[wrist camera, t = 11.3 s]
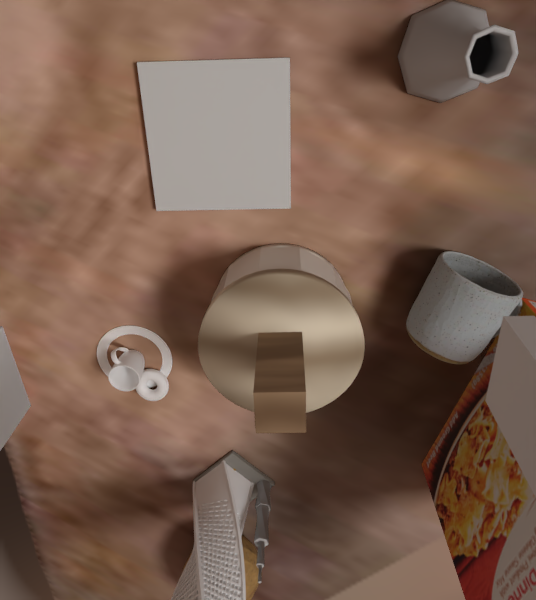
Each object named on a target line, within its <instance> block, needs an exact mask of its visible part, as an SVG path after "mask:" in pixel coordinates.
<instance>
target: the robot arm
mask: <svg viewBox="0 0 536 600" xmlns="http://www.w3.org/2000/svg"><path fill="white" fill-rule="evenodd" d="M485 401H486V403H487V405H488V407H489V409H490V410H491V412H492V414H493V416H494V418H495V420H496V422H497V424H498V426H499V428H500V430H501V432H502V434H503V435H504V437H505V439H506V441H507V443H508V445H509V447H510V449H511V451H512V453H513V455H514V457H515V459H516V461H517V462H518V464H519V466H520V468H521V470H522V472H523V474H524V476H525V478H526V480H527V482H528V484H529V486H530V488H531V489H532V491H533V493H534V495H535V497H536V317H535V316H503V320H502V325H501V329H500V334H499V339H498V343H497V348H496V353H495V358H494V362H493V367H492V372H491V376H490V381H489V386H488V391H487V395H486V400H485ZM30 406H31V405H30V402H29V399H28V396H27V393H26V391H25V388H24V385H23V382H22V379H21V377H20V374H19V371H18V368H17V365H16V363H15V360H14V357H13V354H12V351H11V349H10V346H9V343H8V340H7V337H6V335H5V332H4V329H3V326H0V451H1V449H2V448H3V446H4V445H5V443H6V442H7V440H8V439H9V437H10V436H11V434H12V433H13V431H14V430H15V428H16V427H17V425H18V424H19V422H20V421H21V420H22V418H23V417H24V415H25V414H26V412H27V411H28V409H29V408H30Z"/></svg>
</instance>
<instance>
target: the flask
mask: <svg viewBox="0 0 536 600" xmlns="http://www.w3.org/2000/svg"><path fill="white" fill-rule="evenodd" d="M517 55H518V47H517V41H516V35H515V31H513V30H509V29H506V28H503V27H500V26H497V25H492V26H490V27H489V24H488V19H487V14H486V10H484V9H481V8H478V7H475V6H471V5H468V4H465V3H462V2H459V1H455V0H445V1H443V2H441V3H439V4H436V5H434V6H432V7H430V8H427V9H425V10H423V11H421V12H418V13H416V14H414V15H412V16H411V19H410V22H409V25H408V28H407V31H406V33H405V36H404V39H403V42H402V45H401V48H400V51H399V54H398V60H399V63H400V67H401V71H402V75H403V79H404V82H405V86H406V90H407V93H408V94H412V95H415V96H419V97H422V98H425V99H429V100H432V101H436V102H439V103H442V102H444V101H447V100H449V99H452V98H454V97H457V96H459V95H462V94H464V93H467V92H469V91H472V90H474V89H476V88H477V87H478V85H479V83H480V82H481V83H485V84H489V83H492V82H494V81H496V80H499V79H501V78H504V77H506V76H509V74H510V71H511V69H512V67H513V65H514V62H515V60H516V58H517Z"/></svg>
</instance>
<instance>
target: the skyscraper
mask: <svg viewBox="0 0 536 600" xmlns="http://www.w3.org/2000/svg"><path fill="white" fill-rule="evenodd" d="M274 485H275V482H274V481H273V480H272V479H270V478H269V477H268V476H266V475H265V474H264V473H262V472H261V471H260V470H258V469H257V468H256V467H254V466H253V465H252V464H250V463H249V462H248V461H246V460H245V459H244V458H242V457H241V456H240V455H238V454H237V453H236V452H234V451H233V450H232V451H231V452H230V453H228V454H227V455H226V456H224V457H223V458H222V459H220V460H219V461H218V462H216V463H215V464H214V465H213V466H211V467H210V468H209V469H207V470H206V471H205V472H203V473H202V474H201V475H199V476H198V477H197V478H195V479H194V480H193V517H194V539H195V541H194V546H193V551H192V554H191V556H190V558H189V560H188V562H187V564H186V566H185V568H184V570H183V572H182V575H181V577H180V579H179V581H178V583H177V586H176V588H175V591H174V593H173V596H172V598H171V600H246V584H245V566H244V555H243V547H242V539H241V536H242V532H243V528H244V524H245V520H246V516H247V512H248V508H249V504H250V502H251V501H252V500H253V499H255V498H256V497H257V499H256V505H255V509H256V511H257V524H256V531H255V539H254V542H255V545H256V546H257V547H258V554H257V563H256V565H257V568H259V573H258V583H261V573H262V568H263V567H264V548H265V546H267V545H268V517H269V511H271V504H270V490H271V487H272V486H274Z"/></svg>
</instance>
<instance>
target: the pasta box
mask: <svg viewBox="0 0 536 600" xmlns="http://www.w3.org/2000/svg"><path fill="white" fill-rule="evenodd" d="M518 316H535V317H536V301H533V300H529V299H526V298H522V308H521V310H520V312H519V314H518ZM498 339H499V335H498V336H496V338H495V340H494V341H493V343H492V345H491V346H490V348H489V350H488V352H487V353H486V355H485V357H484V358H483V360H482V362H481V363H480V365H479V367H478V369H477V370H476V372H475V374H474V375H473V377H472V379H471V381H470V382H469V384H468V386H467V387H466V389H465V391H464V392H463V394H462V396H461V398H460V399H459V401H458V403H457V404H456V406H455V408H454V410H453V411H452V413H451V415H450V416H449V418H448V420H447V422H446V423H445V425H444V427H443V428H442V430H441V432H440V433H439V435H438V437H437V439H436V440H435V442H434V444H433V445H432V447H431V449H430V451H429V452H428V454H427V456H426V457H425V459H424V461H423V463H422V464H421V465H422V468H423V471H424V474H425V477H426V480H427V483H428V486H429V489H430V492H431V495H432V499H433V502H434V505H435V508H436V511H437V514H438V517H439V520H440V523H441V526H442V529H443V532H444V535H445V538H446V541H447V544H448V547H449V550H450V553H451V556H452V559H453V562H454V566H455V569H456V572H457V575H458V578H459V581H460V583H461V587H462V590H463V593H464V596H465V599H466V600H536V497H535V495H534V493H533V491H532V489H531V488H530V486H529V484H528V482H527V480H526V478H525V476H524V474H523V472H522V470H521V468H520V466H519V464H518V462H517V461H516V459H515V457H514V455H513V453H512V451H511V449H510V447H509V445H508V443H507V441H506V439H505V437H504V435H503V434H502V432H501V430H500V428H499V426H498V424H497V422H496V420H495V418H494V416H493V414H492V412H491V410H490V409H489V407H488V405H487V403H486V401H485V400H486V395H487V391H488V386H489V381H490V376H491V372H492V367H493V362H494V358H495V353H496V348H497V343H498Z"/></svg>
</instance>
